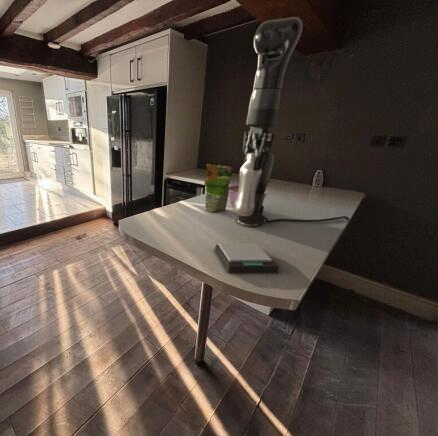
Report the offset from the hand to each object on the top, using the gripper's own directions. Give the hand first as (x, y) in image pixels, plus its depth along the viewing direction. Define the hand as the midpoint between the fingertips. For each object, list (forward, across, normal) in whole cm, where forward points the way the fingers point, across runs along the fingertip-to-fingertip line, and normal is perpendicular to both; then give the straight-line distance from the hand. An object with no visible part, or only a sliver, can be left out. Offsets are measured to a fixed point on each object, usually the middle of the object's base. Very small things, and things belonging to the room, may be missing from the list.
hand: (251, 167), depth 72 cm
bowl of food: (+31, +48, -23) cm, 62 cm away
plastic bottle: (+16, 0, 0) cm, 16 cm away
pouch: (+31, +47, -6) cm, 57 cm away
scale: (+31, -4, -2) cm, 32 cm away
